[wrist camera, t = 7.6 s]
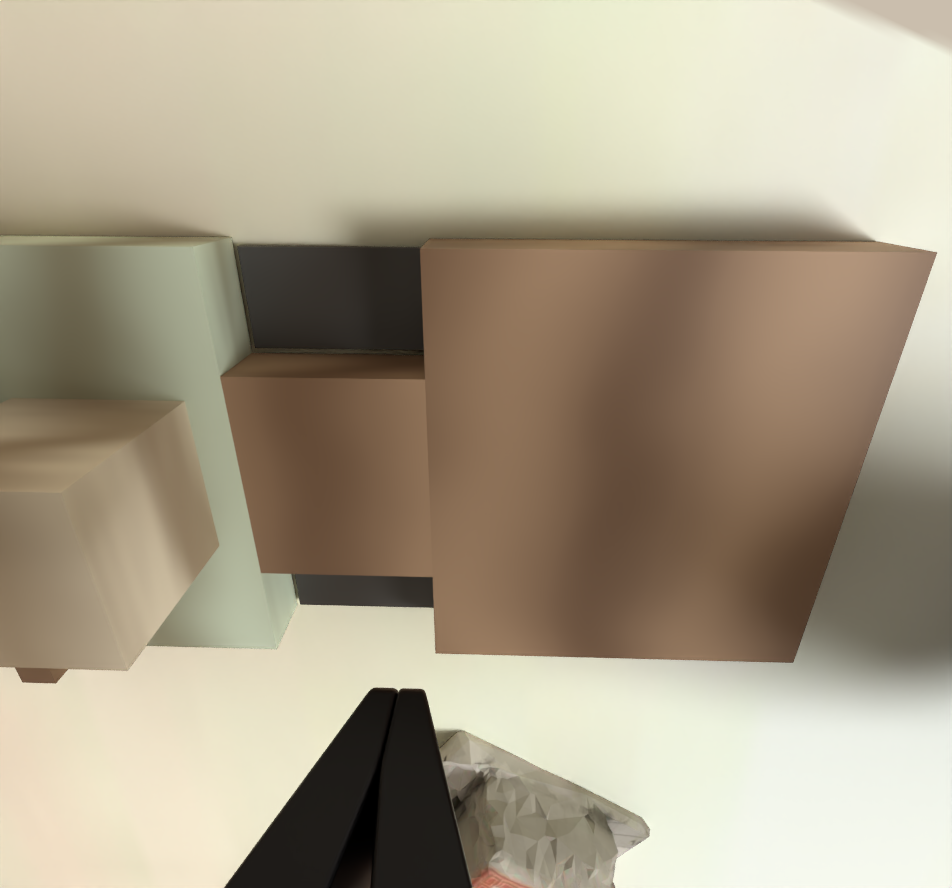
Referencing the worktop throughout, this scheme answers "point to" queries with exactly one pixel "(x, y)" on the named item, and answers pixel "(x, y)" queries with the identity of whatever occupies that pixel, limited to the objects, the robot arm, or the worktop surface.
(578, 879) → the packaged product
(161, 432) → the birch block
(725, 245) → the trap deck
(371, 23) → the worktop surface
